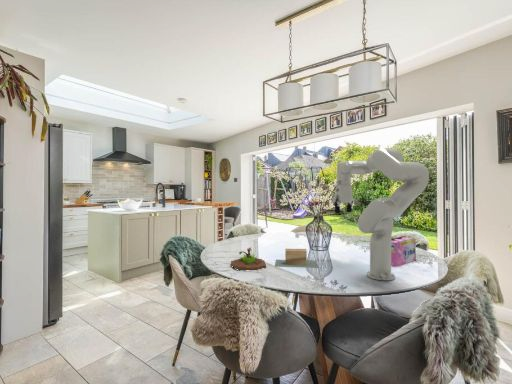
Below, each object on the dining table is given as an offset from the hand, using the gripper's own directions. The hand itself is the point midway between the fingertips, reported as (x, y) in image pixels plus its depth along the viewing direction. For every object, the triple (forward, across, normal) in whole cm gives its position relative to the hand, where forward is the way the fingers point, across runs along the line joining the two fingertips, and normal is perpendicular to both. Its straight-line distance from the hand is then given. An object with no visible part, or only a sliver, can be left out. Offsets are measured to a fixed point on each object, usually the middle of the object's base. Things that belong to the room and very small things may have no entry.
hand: (343, 212), depth 159 cm
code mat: (+30, -25, +12) cm, 41 cm away
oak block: (+30, -25, +12) cm, 41 cm away
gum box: (+30, +30, -16) cm, 45 cm away
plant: (+31, -50, +23) cm, 63 cm away
